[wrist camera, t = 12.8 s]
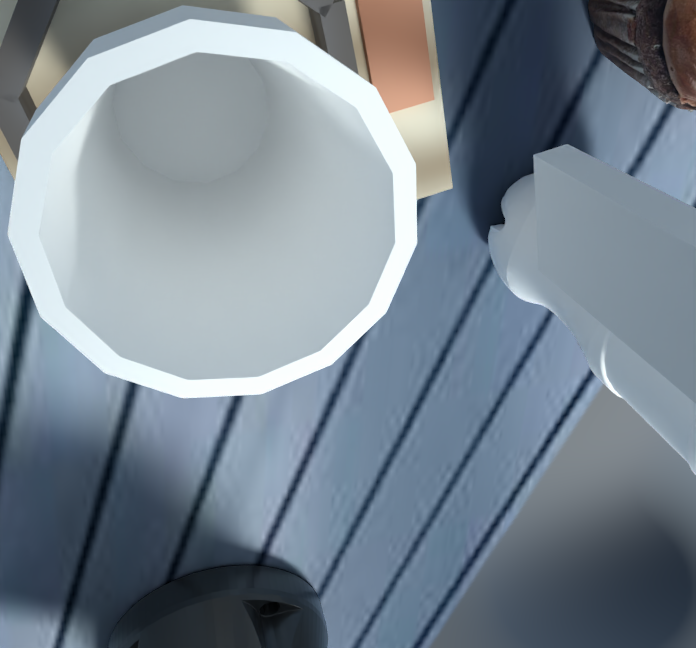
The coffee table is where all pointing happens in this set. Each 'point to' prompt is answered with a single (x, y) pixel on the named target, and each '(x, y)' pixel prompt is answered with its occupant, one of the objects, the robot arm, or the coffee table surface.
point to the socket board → (283, 3)
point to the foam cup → (212, 204)
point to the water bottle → (588, 326)
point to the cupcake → (651, 44)
